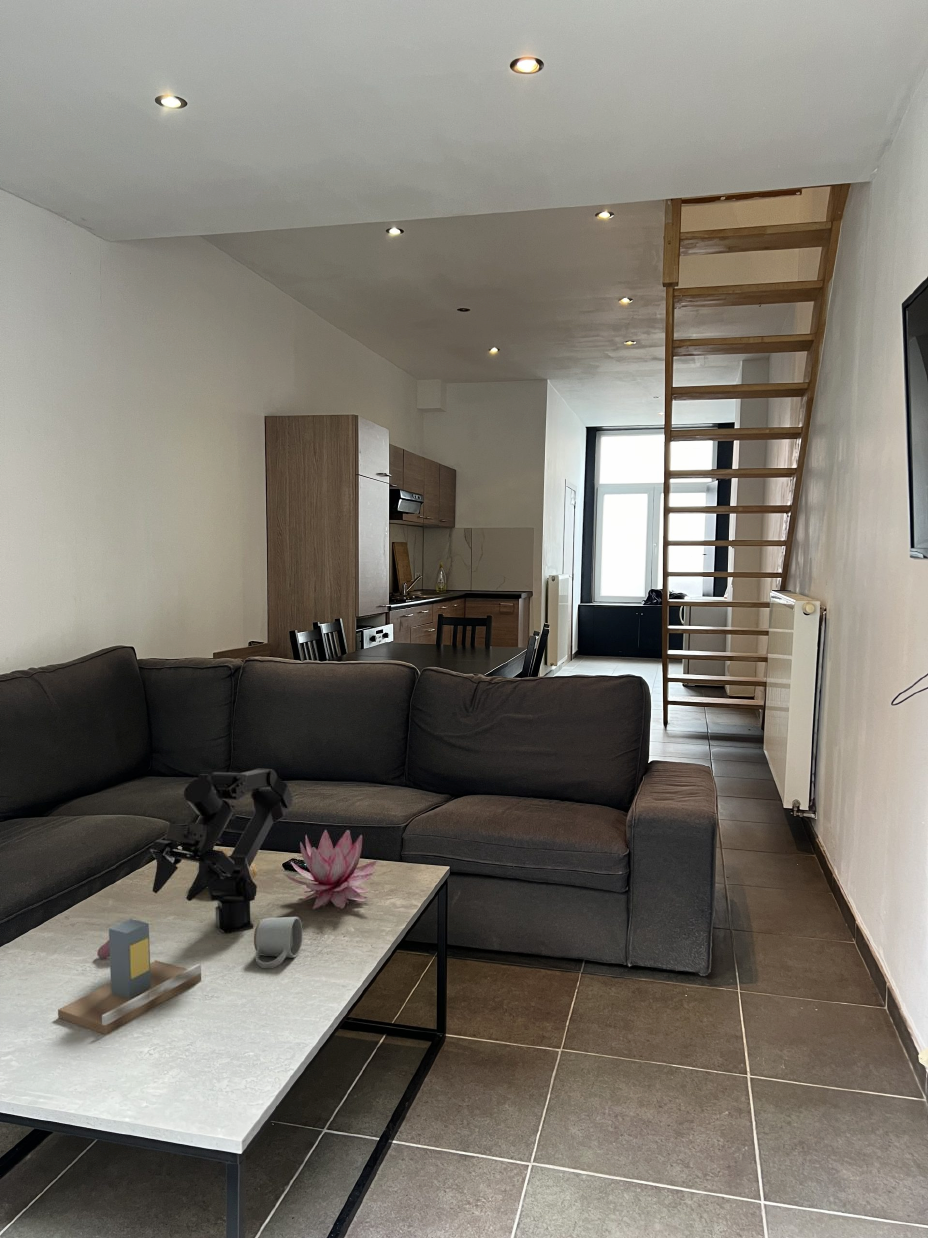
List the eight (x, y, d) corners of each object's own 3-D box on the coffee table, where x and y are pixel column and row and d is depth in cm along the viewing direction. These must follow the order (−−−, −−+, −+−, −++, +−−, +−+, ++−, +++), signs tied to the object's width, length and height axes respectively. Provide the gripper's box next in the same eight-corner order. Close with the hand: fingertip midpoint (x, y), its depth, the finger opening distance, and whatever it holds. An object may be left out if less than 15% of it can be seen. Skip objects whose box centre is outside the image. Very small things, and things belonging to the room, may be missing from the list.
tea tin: (111, 993, 162) (108, 928, 162) (133, 982, 167) (131, 919, 166) (130, 999, 160) (127, 933, 159) (152, 987, 164) (149, 923, 164)
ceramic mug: (265, 945, 186) (264, 909, 185) (303, 947, 185) (302, 911, 184) (246, 969, 175) (244, 931, 175) (286, 971, 174) (284, 933, 173)
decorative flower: (267, 904, 209) (265, 840, 208) (337, 879, 225) (335, 820, 224) (328, 927, 195) (326, 859, 194) (397, 898, 211) (396, 835, 210)
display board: (156, 967, 176) (155, 952, 176) (202, 981, 170) (201, 965, 170) (58, 1018, 157) (57, 1000, 157) (106, 1034, 151) (105, 1016, 151)
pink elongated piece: (112, 968, 180) (125, 938, 179) (93, 957, 180) (106, 927, 179) (138, 947, 189) (151, 919, 189) (120, 937, 190) (133, 908, 189)
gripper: (155, 801, 185) (113, 869, 176) (222, 811, 177) (182, 884, 168) (184, 828, 193) (146, 895, 184) (251, 840, 184) (214, 911, 175)
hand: (170, 896), depth 177 cm, fingers open, 9 cm apart
